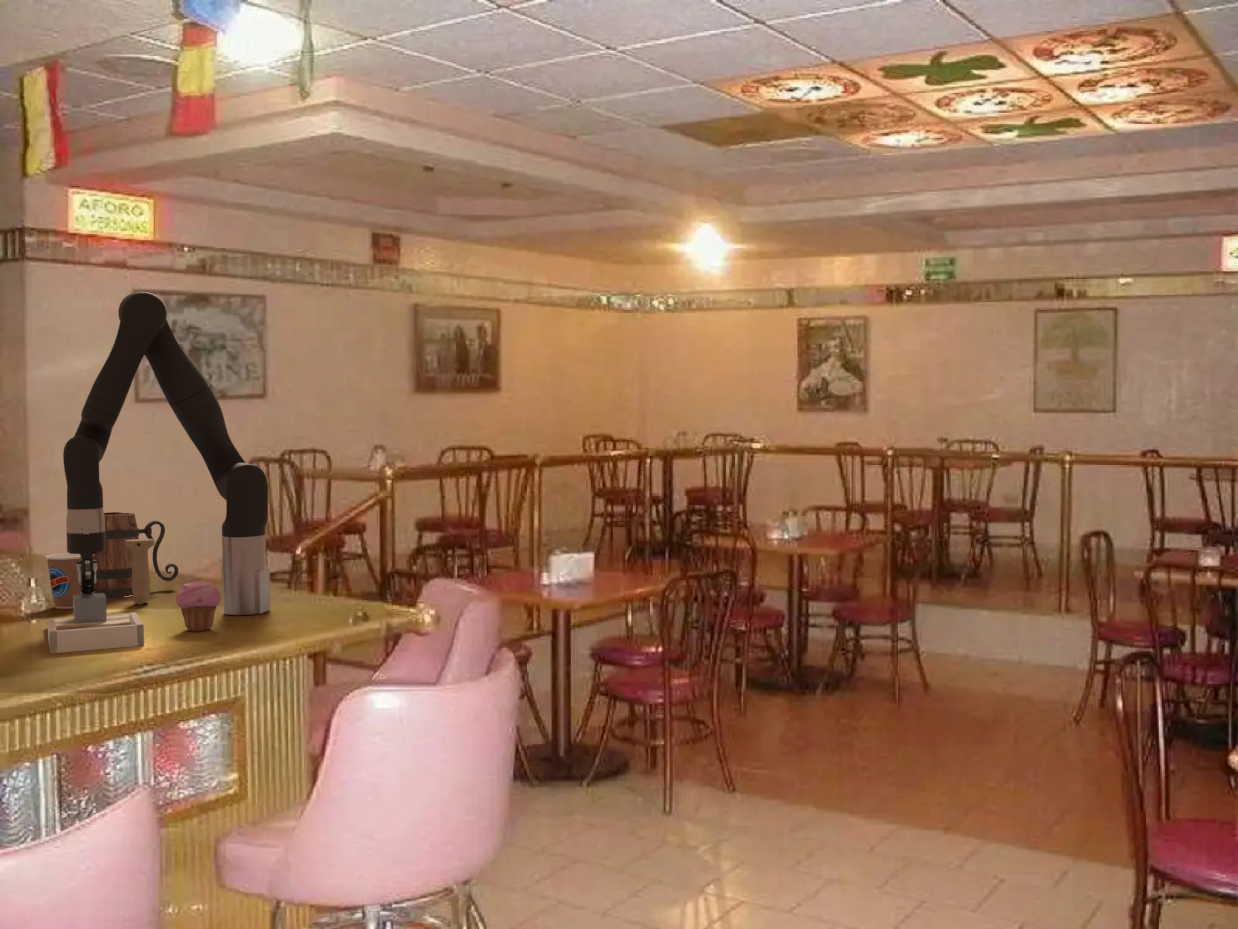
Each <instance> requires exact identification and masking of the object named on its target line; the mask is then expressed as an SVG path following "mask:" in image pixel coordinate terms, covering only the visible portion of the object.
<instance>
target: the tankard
mask: <svg viewBox="0 0 1238 929" xmlns="http://www.w3.org/2000/svg"><path fill="white" fill-rule="evenodd" d="M104 517H105V544H106V549H105V551H104V552H101V553H94V555H93V560H97V570H96V583H95V584H94V588H95V592H94V594H95V593H104V594H105V596H106V600H110V599H111V600H112V599H121V598H120V597H124V596H129V595H133V590H132V558H133V554H132V550H131V549H130V548H128V547H126V546H125V540H133V539H140V537H139V536H140V534H145V536H146V539H154V536H152V533H153V530H152V529H153V528H152V527H153V526H155V525H158V526H159V527H160V532H159V534H158V537H157V539H156V541H155V542H154V545H153V548H152V549H153V550H152V565H153V567H154V572H155V573H156V574H157V576H158V577H159V578H160V579H161V580H163V581H165V582H171V581H174V580H175V579H176V578H177V576H178V575H179V567H178V566H177V565H176V564H175V563H168V564H166V565H165V568H164V570H165V572H166V573H167V574H168V575H171V576H168V577H167V576H164V575H163V574H162V573H161V570H160V567H159V564H158V550H159V547H160V545H161V544H162V541H163V539H164V537H165V533H166V527H165V524H164V523H162V522H161V521H160V520H152V521H150V522H148V523H147V524H146V525H145V526H144V528H139V527H138V523H137V518H136V515H135V513H133V512H121V511H120V512H116V511H114V512H112V511H110V512H104ZM170 568H174V571H173V574H172V571H169V569H170Z"/></svg>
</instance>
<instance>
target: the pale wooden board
mask: <svg viewBox="0 0 1238 929" xmlns="http://www.w3.org/2000/svg"><path fill="white" fill-rule="evenodd" d="M129 613H130V612H121V613H106V614H107V621H106V622H93V623H79V624H75V622H74V619H73V616H65V617H55V618H54V617H52V618H51V617H50V618H46V621H47V622H46V624H47V626H48V619H53V618H54V620H55V625H56V630H57V631H58V630H71V629H84V628H97V627H109V626H122V625H130V618H129ZM47 626H46V627H47Z"/></svg>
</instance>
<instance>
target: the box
mask: <svg viewBox="0 0 1238 929" xmlns="http://www.w3.org/2000/svg"><path fill="white" fill-rule="evenodd" d="M128 613H129V618H130V625H122V626H109V627H97V628H84V629H71V630H58V631H57V630H56V625H55V620H54V617H52V618H53V619H50V618H47V619H48V629H47V640H48V646H49V654H59V653H72V652H73V653H74V652H84V651H86V652H87V651H95V650H107V649H118V648H119V649H121V648H129V647H130V648H131V647H132V648H133V647H143V646H145V630H144V627H145V626H144V623H143V622H142V620H141V618H140V617H139V615H138V614H137V613H136V612H128Z"/></svg>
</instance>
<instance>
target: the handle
mask: <svg viewBox="0 0 1238 929" xmlns="http://www.w3.org/2000/svg"><path fill="white" fill-rule="evenodd" d="M154 545H155V539H154V538H153V539H148V538H139V539H133V540H125V546H126V547H128V548H130V549H131V550H132V554H133V558H132V590H133V596H134V597H133V602H134V605H136V604H137V605H139V604H140V603H147V602H148V601H149V602H150V597H149V596H150V594H151V593H150V591H151V579H150V578H151V576H150V566H149V554H148V553H149V549H150V548H152V547H154ZM149 602H148V603H149Z"/></svg>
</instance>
